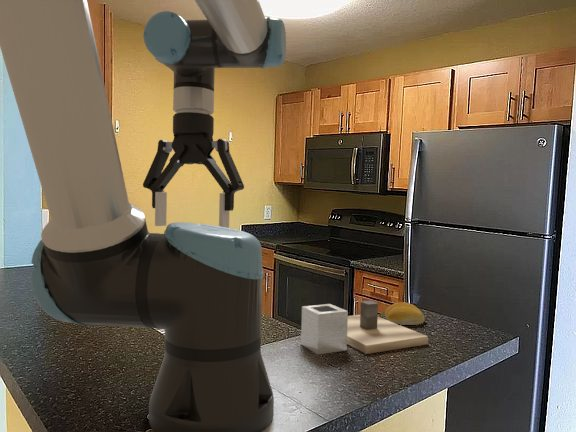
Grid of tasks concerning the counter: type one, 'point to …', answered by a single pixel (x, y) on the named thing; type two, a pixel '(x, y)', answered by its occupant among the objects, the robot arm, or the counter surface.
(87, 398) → the counter surface
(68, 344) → the counter surface
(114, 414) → the counter surface
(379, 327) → the block
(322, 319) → the hollow square tube
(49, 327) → the counter surface
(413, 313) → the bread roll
